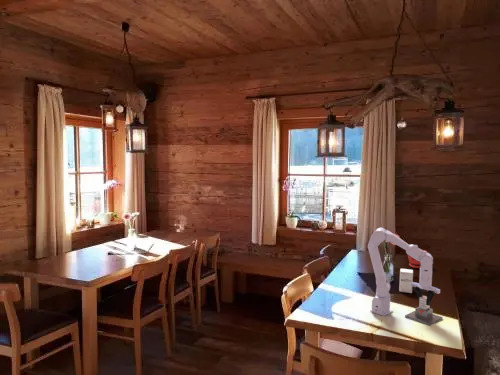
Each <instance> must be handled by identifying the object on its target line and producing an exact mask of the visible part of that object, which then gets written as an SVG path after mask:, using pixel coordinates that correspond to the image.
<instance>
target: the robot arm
mask: <svg viewBox="0 0 500 375" xmlns="http://www.w3.org/2000/svg"><path fill="white" fill-rule="evenodd" d="M384 241H385V243H390V242H391V243H393V244H395V245H396V246H398V247H400V248H401V249H402V250H405V253H406V255H407V256H408V255H410V257H413V258H414V259H416V260H417V261H420V263H421V267H420V268H419V278H418V279H419V282H414V281H413V282H412V283H411V286H412V288H413V287H414V292H415V294H416V297H417V301H418V302H419V298H420V297H421V296H424V295H423V294H424V291H426V293H425V294H426V295H425V296H426V297H427V305H431V303H432V300H433V298H434V296H435V295H436V294H437V295H438V294H441V289H440V288H438V287H435V286H432V282H433V264H434V257H433V255H432V254H431V253H430V252H427V253H426V251H427V250H424V249H421V248H419V246H418V244H410V243H409V244H408V243H407V242H406V241H405V240H403V239H402V238H400V237H399V236H397V235H395V234H394V233H393V232H391V231H390V230H388V229H386V228H384V227H377V228H376V229H375V230H374V231H373V233H372V234H371V235H370V238H369V240H368V244H367V249H368V254H369V256H370V260H371V264H372V265H371V266H372V267H373V272H374V275H375V284H376V289H375V296H374V297H373V298H372V300H371V309H370V312H371V313H374V314H376V315H380V316H381V317H384V316H387V315H389V314H391V313H393V312H394V310H392V309H391V293H390V290H391V283H390V282H389V281H388V278H387V276H386V274H385V270H384V267H383V263H382V259H381V255H380V251H379V250H380V249H379V245H380V244H381V243H383V242H384ZM423 250H424V251H423Z"/></svg>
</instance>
